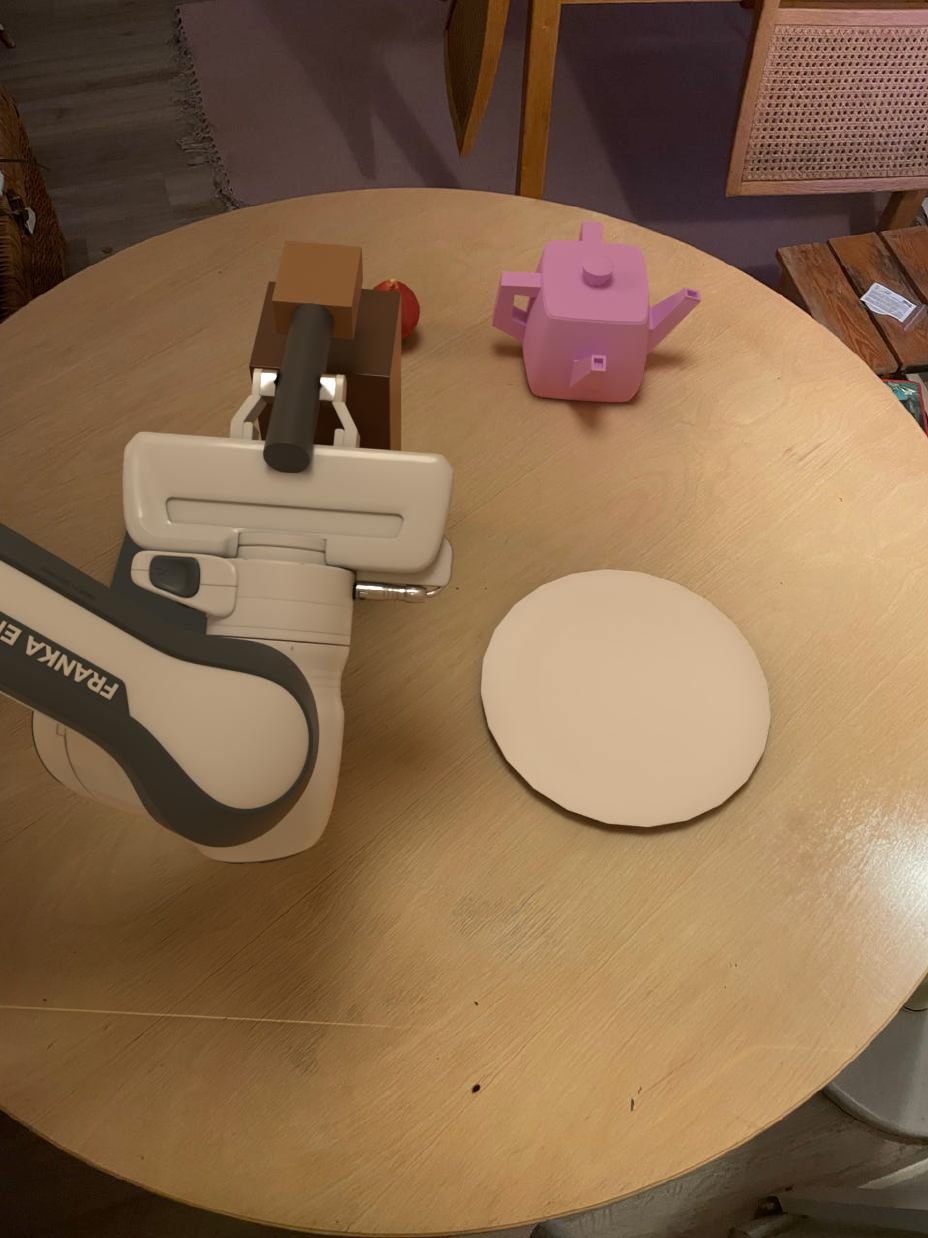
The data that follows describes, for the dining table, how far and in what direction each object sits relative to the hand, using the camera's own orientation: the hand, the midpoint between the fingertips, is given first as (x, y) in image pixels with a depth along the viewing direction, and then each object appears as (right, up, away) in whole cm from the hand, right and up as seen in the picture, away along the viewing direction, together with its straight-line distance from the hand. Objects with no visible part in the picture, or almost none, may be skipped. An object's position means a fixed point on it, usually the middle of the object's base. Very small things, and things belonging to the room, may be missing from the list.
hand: (300, 373), depth 65 cm
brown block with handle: (0, +1, +3) cm, 3 cm away
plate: (+24, -22, +25) cm, 41 cm away
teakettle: (+23, +13, +47) cm, 54 cm away
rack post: (-1, -8, +33) cm, 34 cm away
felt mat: (-15, -9, +31) cm, 36 cm away
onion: (+2, +15, +48) cm, 50 cm away
